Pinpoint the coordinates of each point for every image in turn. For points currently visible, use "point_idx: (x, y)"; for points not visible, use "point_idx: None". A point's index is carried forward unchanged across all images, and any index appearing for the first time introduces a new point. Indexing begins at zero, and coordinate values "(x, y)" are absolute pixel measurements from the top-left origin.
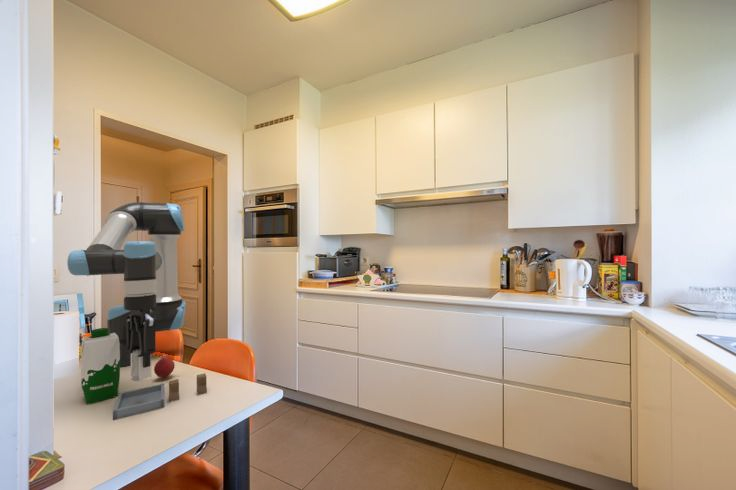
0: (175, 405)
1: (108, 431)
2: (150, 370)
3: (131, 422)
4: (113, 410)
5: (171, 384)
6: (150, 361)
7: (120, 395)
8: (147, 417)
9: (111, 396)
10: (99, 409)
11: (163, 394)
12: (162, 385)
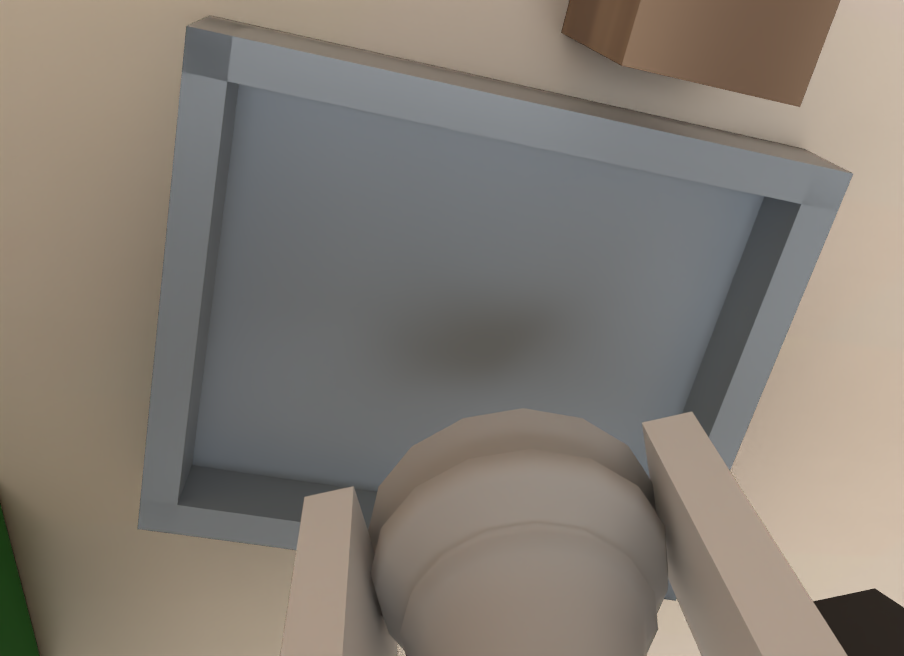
0: (874, 30)
1: (846, 576)
2: (736, 491)
3: (851, 439)
4: None
5: (805, 66)
6: (826, 636)
7: (244, 526)
8: (886, 322)
9: (5, 538)
10: (271, 611)
11: (677, 143)
12: (271, 71)
